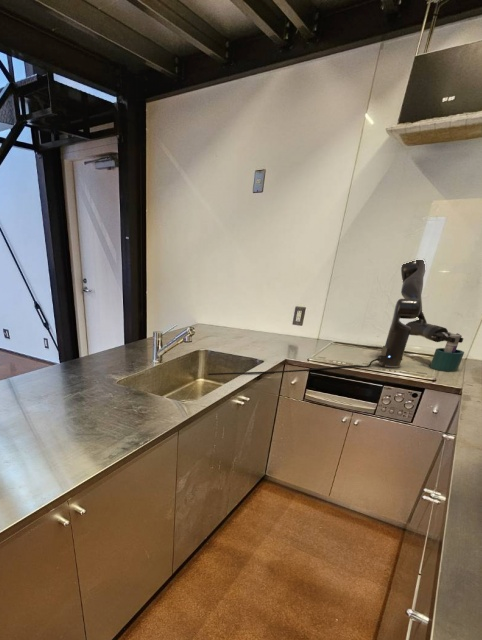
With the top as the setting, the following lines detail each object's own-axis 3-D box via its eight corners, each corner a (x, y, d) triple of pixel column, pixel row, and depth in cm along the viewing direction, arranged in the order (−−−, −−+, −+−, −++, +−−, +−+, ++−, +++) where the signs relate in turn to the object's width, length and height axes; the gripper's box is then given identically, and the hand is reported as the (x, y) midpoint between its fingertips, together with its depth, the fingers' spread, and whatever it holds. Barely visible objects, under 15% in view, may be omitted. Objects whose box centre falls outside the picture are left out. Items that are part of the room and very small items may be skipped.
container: (446, 363, 196) (457, 334, 189) (452, 366, 192) (463, 336, 185) (436, 363, 196) (447, 334, 189) (442, 366, 192) (453, 336, 185)
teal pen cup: (436, 371, 191) (442, 353, 186) (425, 364, 201) (431, 347, 196) (462, 371, 189) (469, 353, 184) (450, 365, 199) (456, 348, 194)
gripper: (423, 326, 199) (446, 333, 183) (450, 325, 198) (475, 332, 183) (419, 340, 202) (441, 348, 187) (445, 340, 202) (469, 348, 187)
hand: (458, 340), depth 185 cm, fingers closed on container, 3 cm apart
